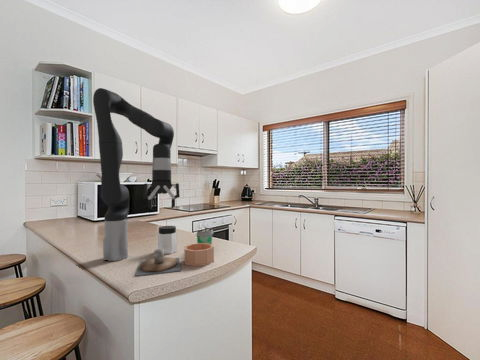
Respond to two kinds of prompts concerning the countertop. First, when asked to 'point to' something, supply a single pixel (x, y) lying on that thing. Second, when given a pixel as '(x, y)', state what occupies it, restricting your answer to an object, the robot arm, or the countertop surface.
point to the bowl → (198, 254)
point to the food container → (205, 236)
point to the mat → (142, 273)
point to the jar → (167, 239)
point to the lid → (158, 262)
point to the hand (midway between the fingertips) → (161, 208)
